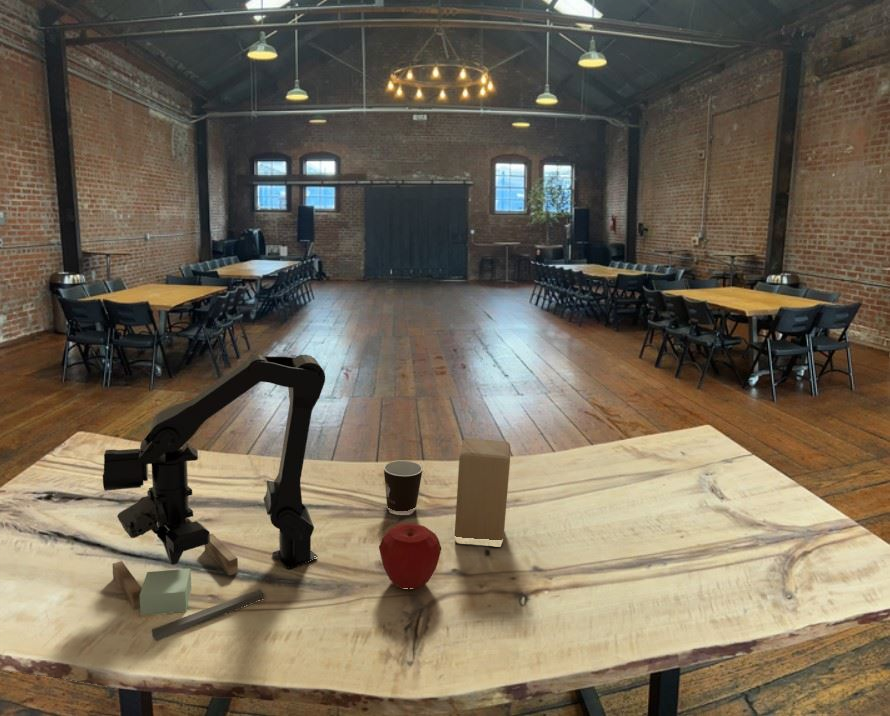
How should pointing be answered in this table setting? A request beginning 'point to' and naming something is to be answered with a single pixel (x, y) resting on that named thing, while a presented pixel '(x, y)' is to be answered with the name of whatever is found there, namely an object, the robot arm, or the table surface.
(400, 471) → the coffee mug
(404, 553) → the apple
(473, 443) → the wooden block
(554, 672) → the table surface
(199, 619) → the set of wooden bars
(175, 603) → the sage block
